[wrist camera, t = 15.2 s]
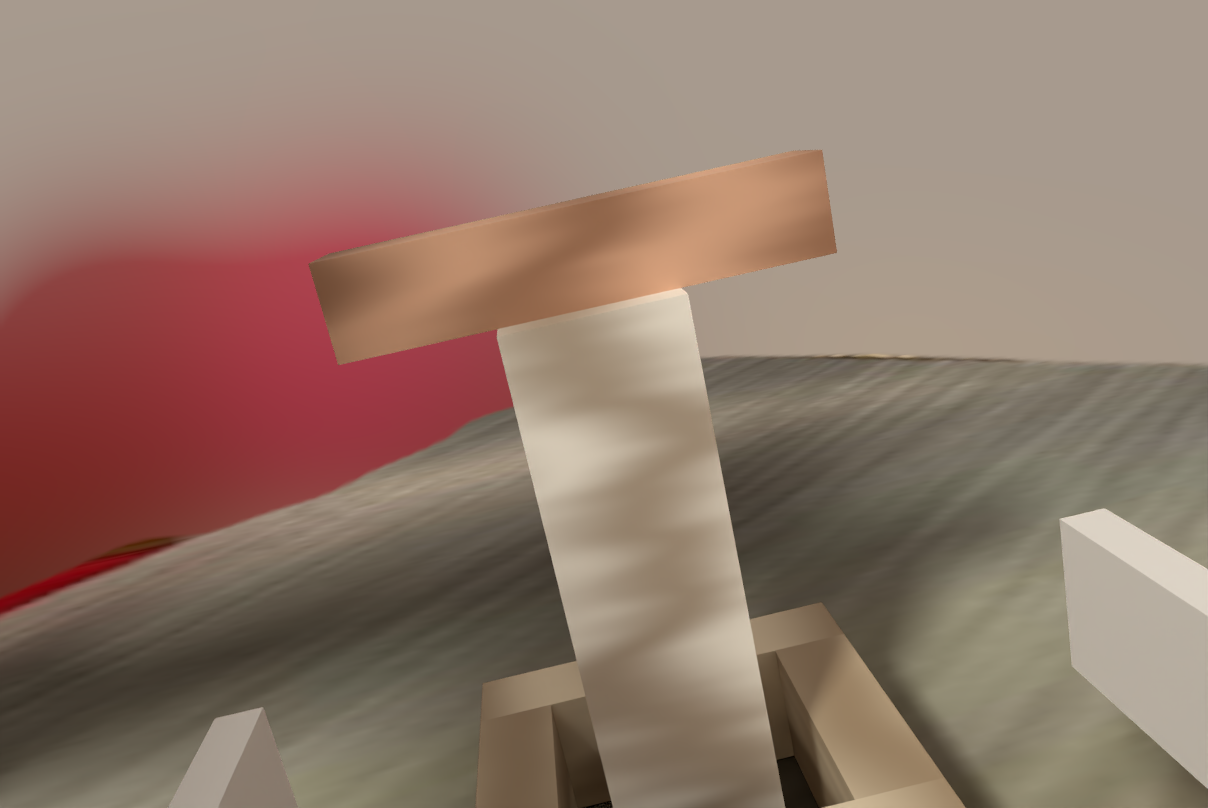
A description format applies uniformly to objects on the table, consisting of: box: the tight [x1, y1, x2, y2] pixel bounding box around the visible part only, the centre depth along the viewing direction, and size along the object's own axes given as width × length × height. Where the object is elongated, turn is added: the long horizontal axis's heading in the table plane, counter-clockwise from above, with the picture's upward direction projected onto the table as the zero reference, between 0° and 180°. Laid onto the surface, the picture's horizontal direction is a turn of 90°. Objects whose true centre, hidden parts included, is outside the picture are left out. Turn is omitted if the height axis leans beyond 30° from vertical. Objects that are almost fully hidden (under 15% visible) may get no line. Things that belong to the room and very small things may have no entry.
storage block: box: [475, 602, 965, 808], centre depth 27 cm, size 12×12×4 cm
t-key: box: [309, 150, 837, 808], centre depth 25 cm, size 12×4×19 cm, turn 95°
